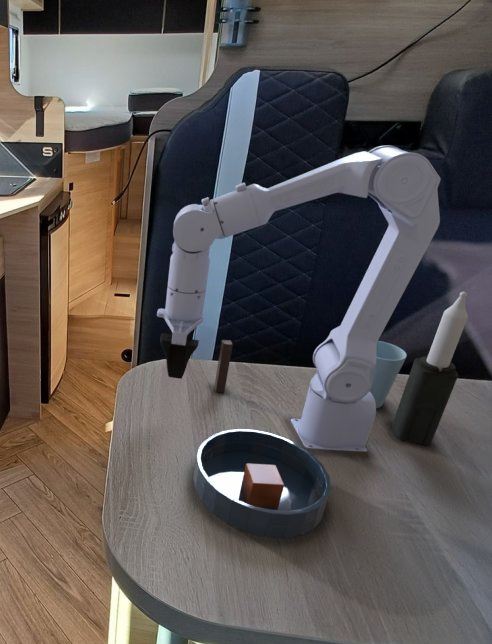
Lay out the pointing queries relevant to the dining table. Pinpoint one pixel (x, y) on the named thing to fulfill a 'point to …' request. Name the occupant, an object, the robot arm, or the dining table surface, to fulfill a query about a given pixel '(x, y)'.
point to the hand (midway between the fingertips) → (177, 365)
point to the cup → (385, 370)
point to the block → (262, 485)
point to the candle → (431, 381)
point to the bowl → (266, 448)
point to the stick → (223, 365)
